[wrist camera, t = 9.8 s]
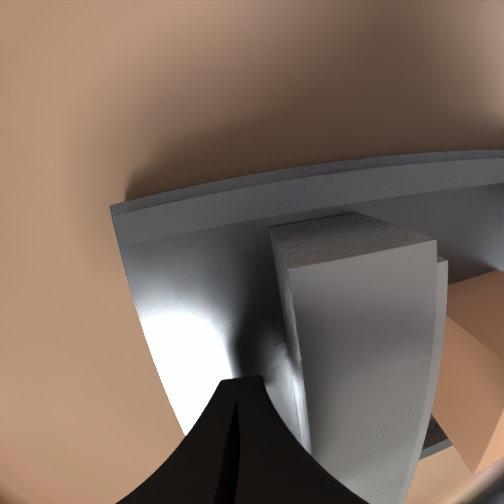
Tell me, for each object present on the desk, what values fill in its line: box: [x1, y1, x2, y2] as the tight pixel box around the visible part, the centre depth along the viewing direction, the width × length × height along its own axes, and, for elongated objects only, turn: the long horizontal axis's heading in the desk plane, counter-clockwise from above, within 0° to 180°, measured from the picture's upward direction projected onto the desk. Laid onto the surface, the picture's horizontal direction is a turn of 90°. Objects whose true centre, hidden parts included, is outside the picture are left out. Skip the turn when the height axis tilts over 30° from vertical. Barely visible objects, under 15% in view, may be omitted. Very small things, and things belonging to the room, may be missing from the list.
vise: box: [110, 150, 504, 460], centre depth 8 cm, size 18×13×5 cm
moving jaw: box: [268, 212, 448, 504], centre depth 8 cm, size 3×10×4 cm, turn 10°
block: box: [431, 269, 504, 475], centre depth 7 cm, size 4×4×5 cm
